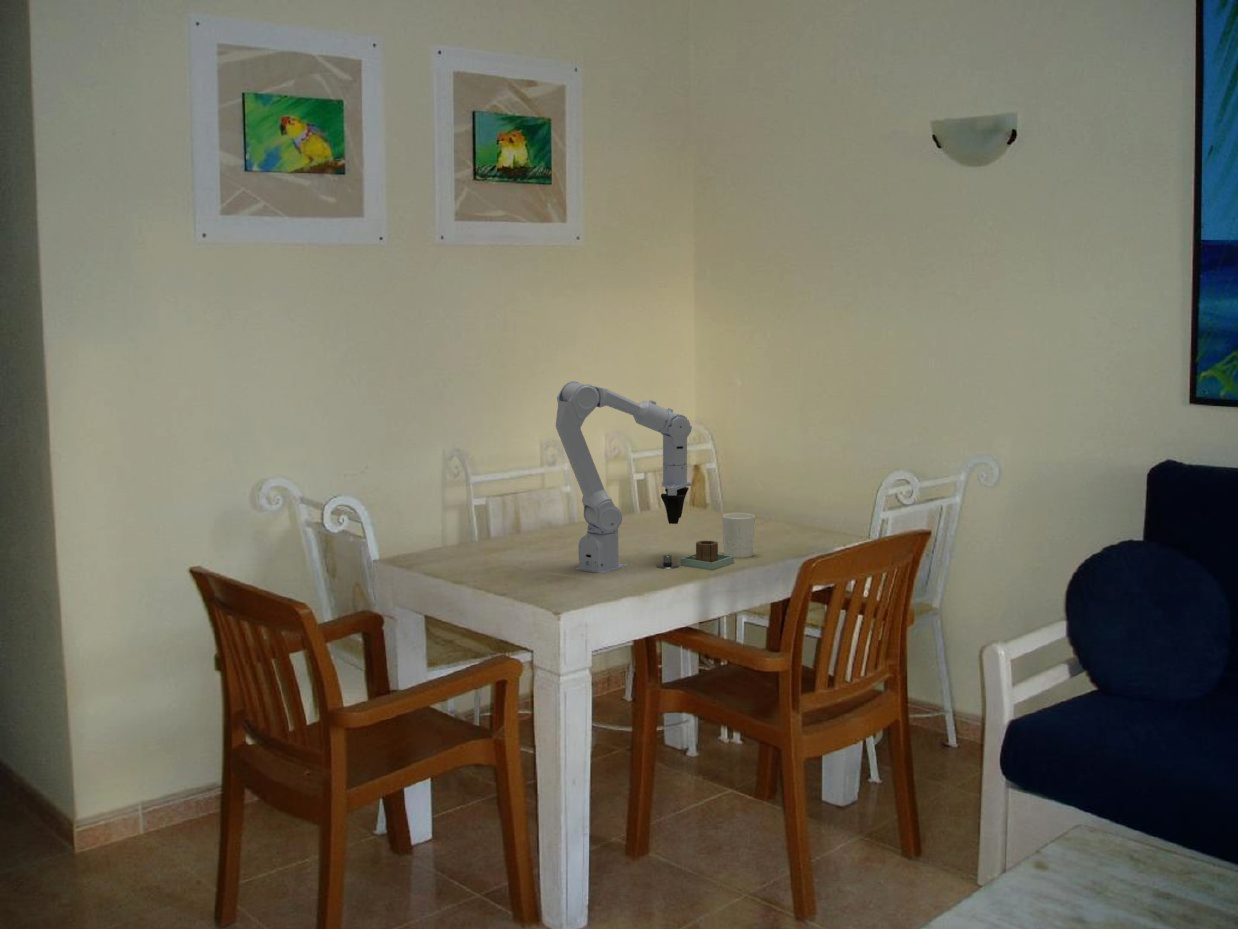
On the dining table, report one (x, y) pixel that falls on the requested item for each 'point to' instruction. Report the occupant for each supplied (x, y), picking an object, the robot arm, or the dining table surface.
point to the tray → (722, 561)
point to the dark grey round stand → (667, 563)
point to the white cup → (738, 534)
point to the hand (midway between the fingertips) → (674, 520)
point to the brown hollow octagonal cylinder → (706, 551)
